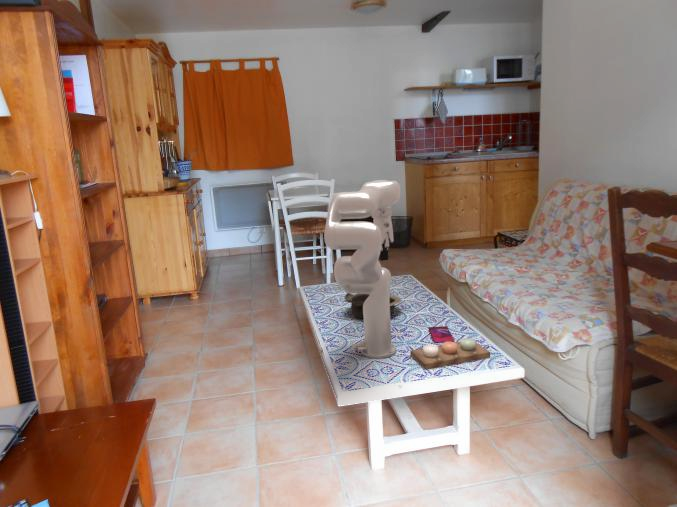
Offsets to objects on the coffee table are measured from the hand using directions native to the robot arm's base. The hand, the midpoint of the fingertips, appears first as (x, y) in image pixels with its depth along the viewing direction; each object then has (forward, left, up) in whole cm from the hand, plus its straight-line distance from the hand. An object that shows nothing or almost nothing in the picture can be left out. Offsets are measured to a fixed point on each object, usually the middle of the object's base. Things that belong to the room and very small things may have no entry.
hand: (383, 259), depth 196 cm
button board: (+11, -32, -29) cm, 45 cm away
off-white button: (+4, -32, -27) cm, 42 cm away
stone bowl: (+2, +22, -30) cm, 37 cm away
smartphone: (+17, -13, -30) cm, 37 cm away
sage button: (+18, -32, -27) cm, 46 cm away
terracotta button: (+11, -32, -27) cm, 43 cm away
